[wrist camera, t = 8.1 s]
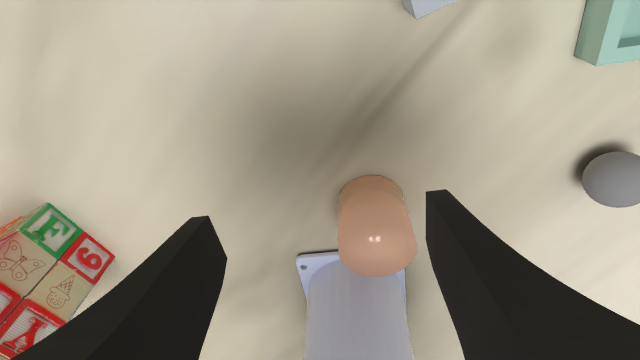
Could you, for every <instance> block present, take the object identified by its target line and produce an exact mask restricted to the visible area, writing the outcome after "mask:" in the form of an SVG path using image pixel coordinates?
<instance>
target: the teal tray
mask: <svg viewBox="0 0 640 360" xmlns="http://www.w3.org/2000/svg"><path fill="white" fill-rule="evenodd" d="M574 56H575V57H577V58H579V59H581V60H584V61H586V62H588V63H590V64H592V65H594V66H602V65H608V64H615V63H622V62H629V61H636V60H640V0H587V3H586V7H585V11H584V15H583V20H582V24H581V28H580V32H579V37H578V41H577V45H576V50H575V54H574Z"/></svg>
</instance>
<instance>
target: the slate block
mask: <svg viewBox="0 0 640 360" xmlns="http://www.w3.org/2000/svg"><path fill="white" fill-rule="evenodd" d="M455 1H457V0H402V3H403V6H404V9H405V10H406V11H407V12H408V13H410V14H411V15H412V16H413V17H414V18H415V19H418V18H421V17H423V16H425V15H427V14H429V13H431V12H433V11H436V10H438V9H440V8H442V7H444V6H446V5H449V4H451V3H453V2H455Z"/></svg>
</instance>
